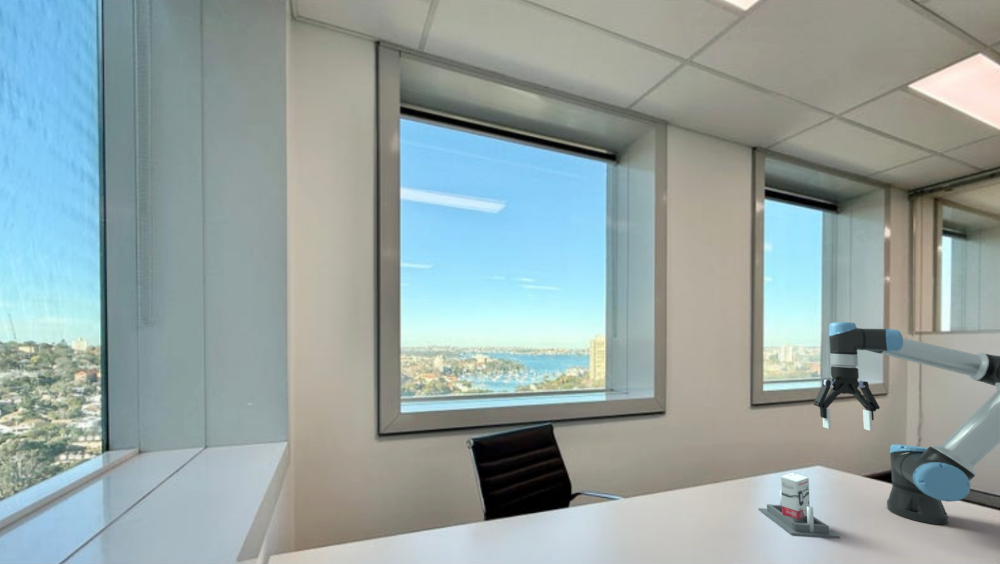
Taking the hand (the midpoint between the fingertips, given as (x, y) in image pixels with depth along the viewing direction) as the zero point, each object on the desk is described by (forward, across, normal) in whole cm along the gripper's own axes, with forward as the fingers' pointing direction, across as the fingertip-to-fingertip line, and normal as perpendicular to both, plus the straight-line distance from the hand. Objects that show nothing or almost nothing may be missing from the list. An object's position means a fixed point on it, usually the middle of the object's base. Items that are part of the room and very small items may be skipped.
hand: (847, 429), depth 147 cm
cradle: (+29, +23, +8) cm, 38 cm away
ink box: (+26, +23, +8) cm, 36 cm away
